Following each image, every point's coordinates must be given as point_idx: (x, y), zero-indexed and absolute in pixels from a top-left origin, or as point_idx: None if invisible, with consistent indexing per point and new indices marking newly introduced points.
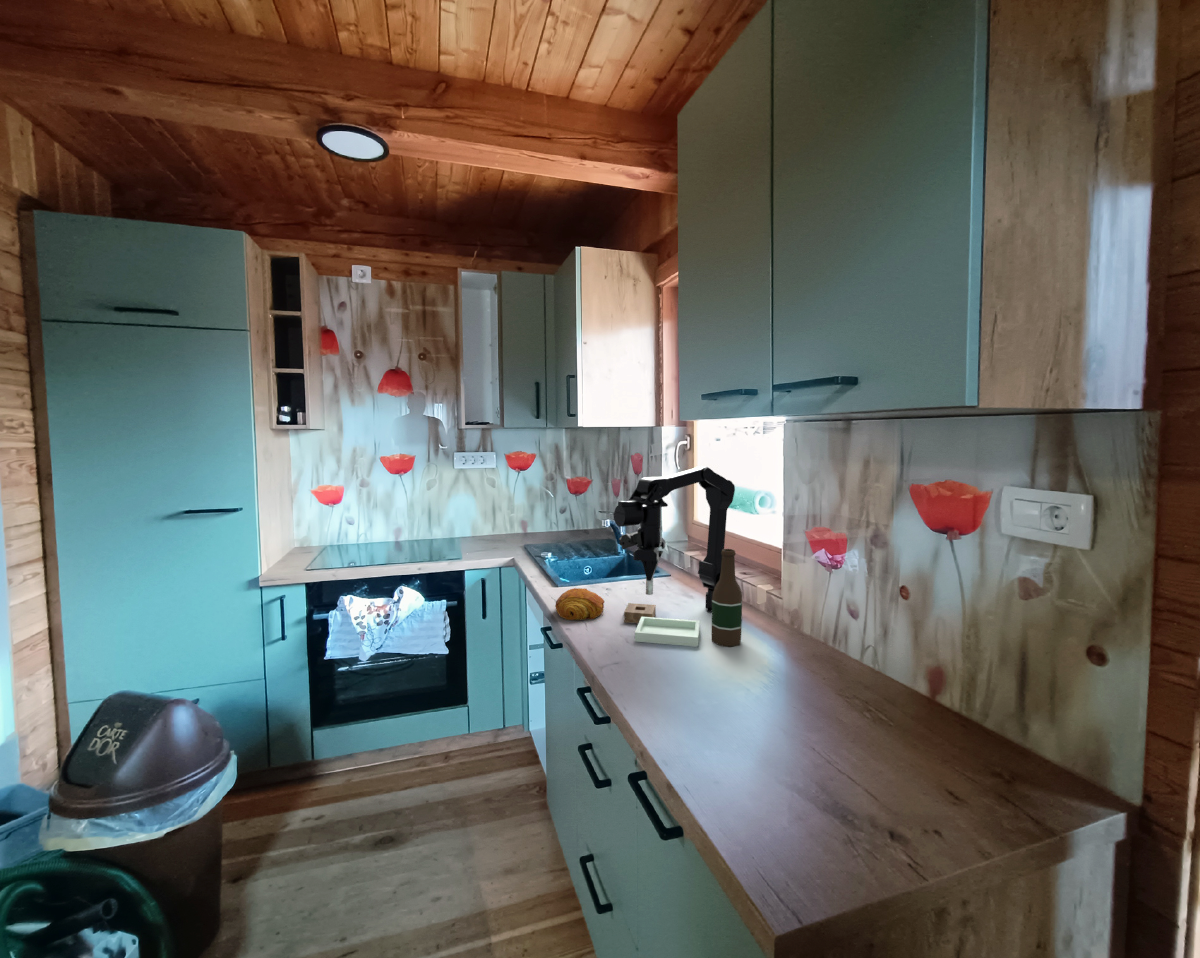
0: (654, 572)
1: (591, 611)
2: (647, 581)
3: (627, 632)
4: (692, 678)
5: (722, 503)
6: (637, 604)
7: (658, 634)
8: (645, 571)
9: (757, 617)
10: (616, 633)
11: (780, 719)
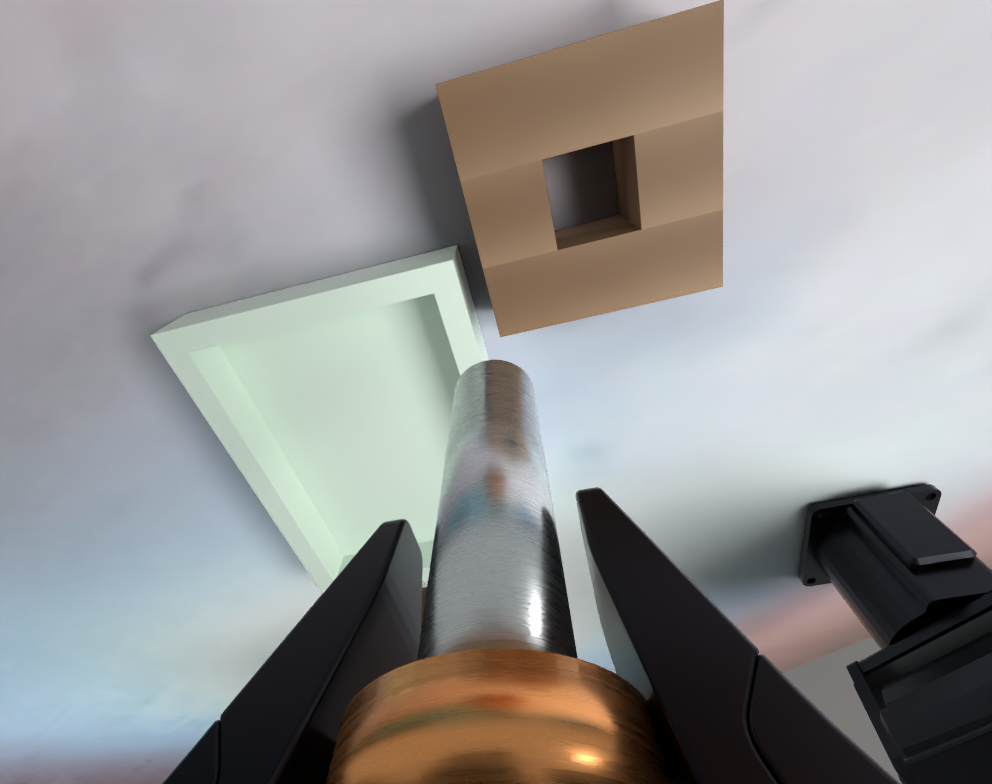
0: (605, 631)
1: None
2: (441, 487)
3: (279, 210)
4: (72, 601)
5: None
6: (700, 121)
7: (232, 457)
8: (264, 679)
9: (765, 654)
10: (209, 139)
11: (71, 751)
